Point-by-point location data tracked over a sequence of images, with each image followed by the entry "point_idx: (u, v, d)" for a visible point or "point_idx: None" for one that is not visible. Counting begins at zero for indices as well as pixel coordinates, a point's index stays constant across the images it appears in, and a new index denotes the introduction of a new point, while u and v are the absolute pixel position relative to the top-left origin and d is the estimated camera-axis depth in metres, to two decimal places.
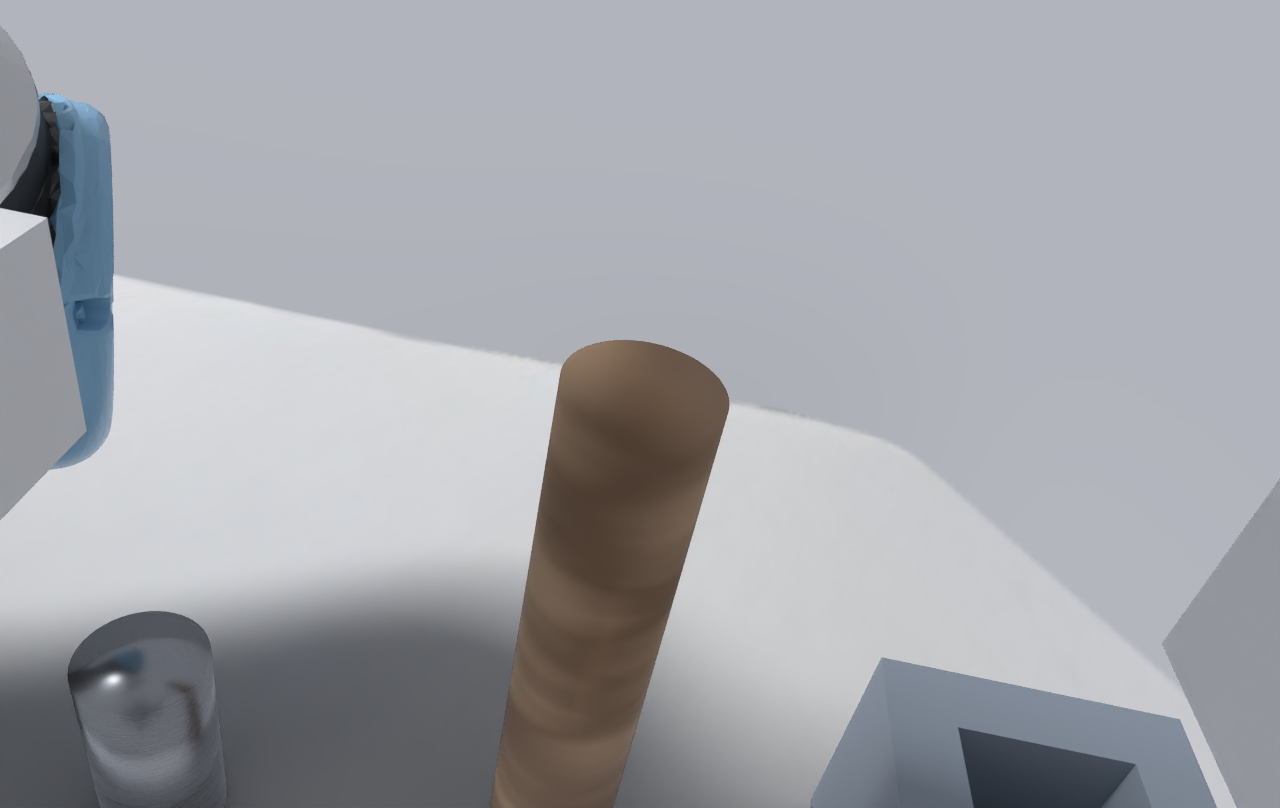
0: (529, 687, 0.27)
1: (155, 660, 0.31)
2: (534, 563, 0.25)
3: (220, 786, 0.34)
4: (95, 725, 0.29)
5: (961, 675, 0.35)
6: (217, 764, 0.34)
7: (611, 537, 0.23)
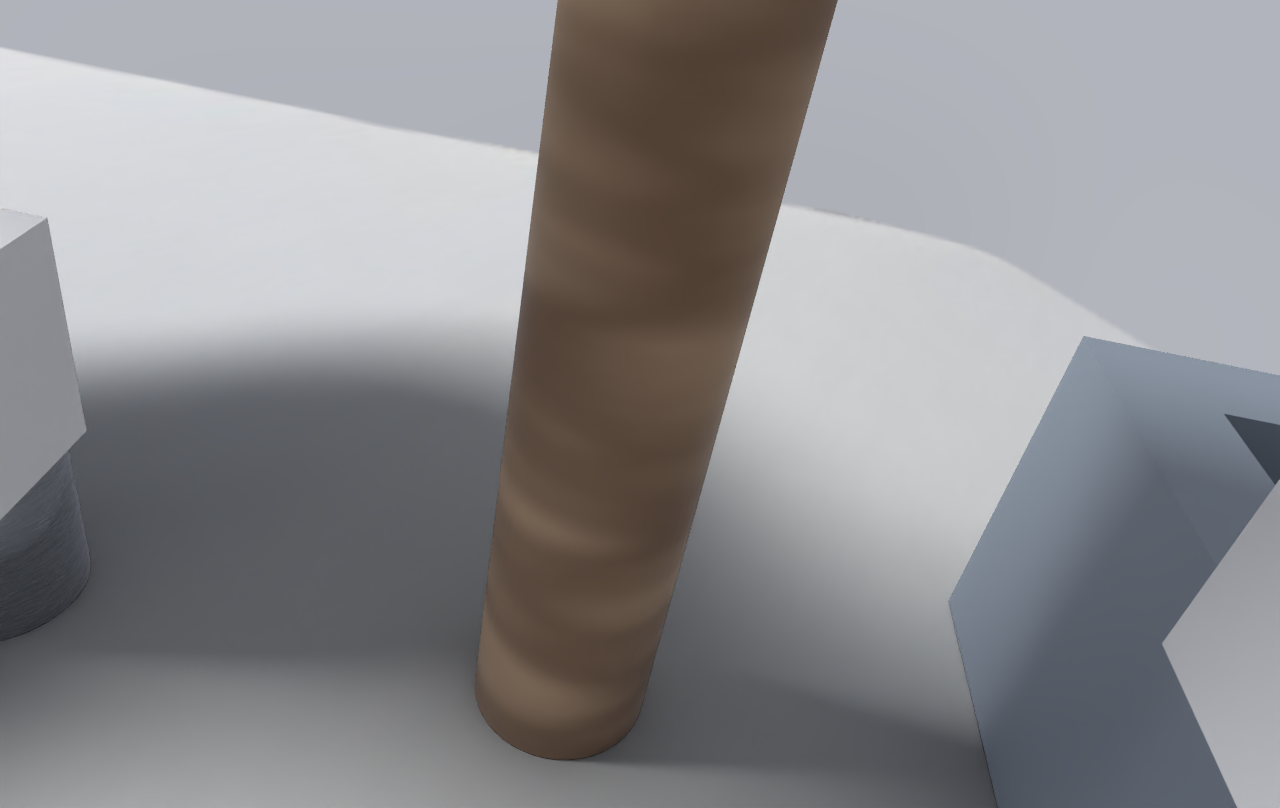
0: (562, 225, 0.15)
1: None
2: None
3: (72, 542, 0.22)
4: None
5: (1203, 363, 0.23)
6: (61, 498, 0.21)
7: None
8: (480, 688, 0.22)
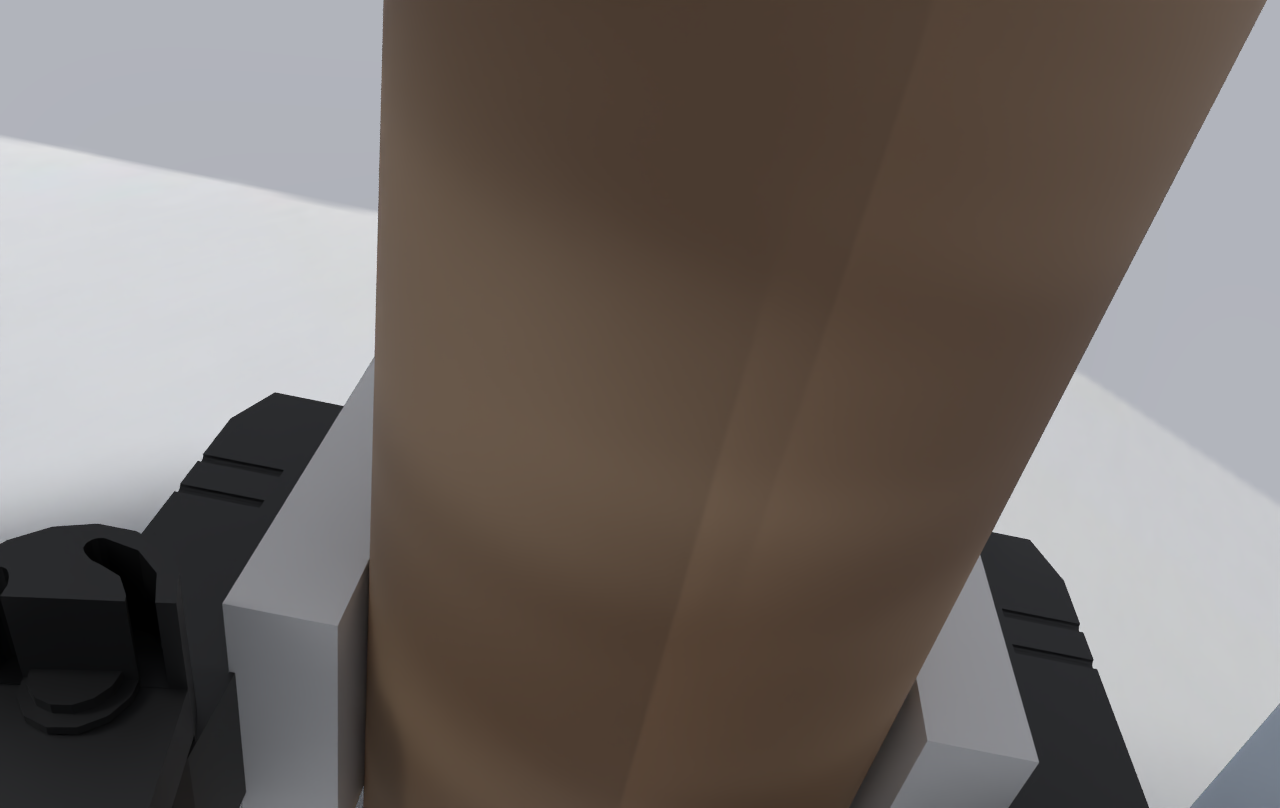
0: None
1: None
2: (380, 243, 0.05)
3: None
4: None
5: None
6: None
7: None
8: None
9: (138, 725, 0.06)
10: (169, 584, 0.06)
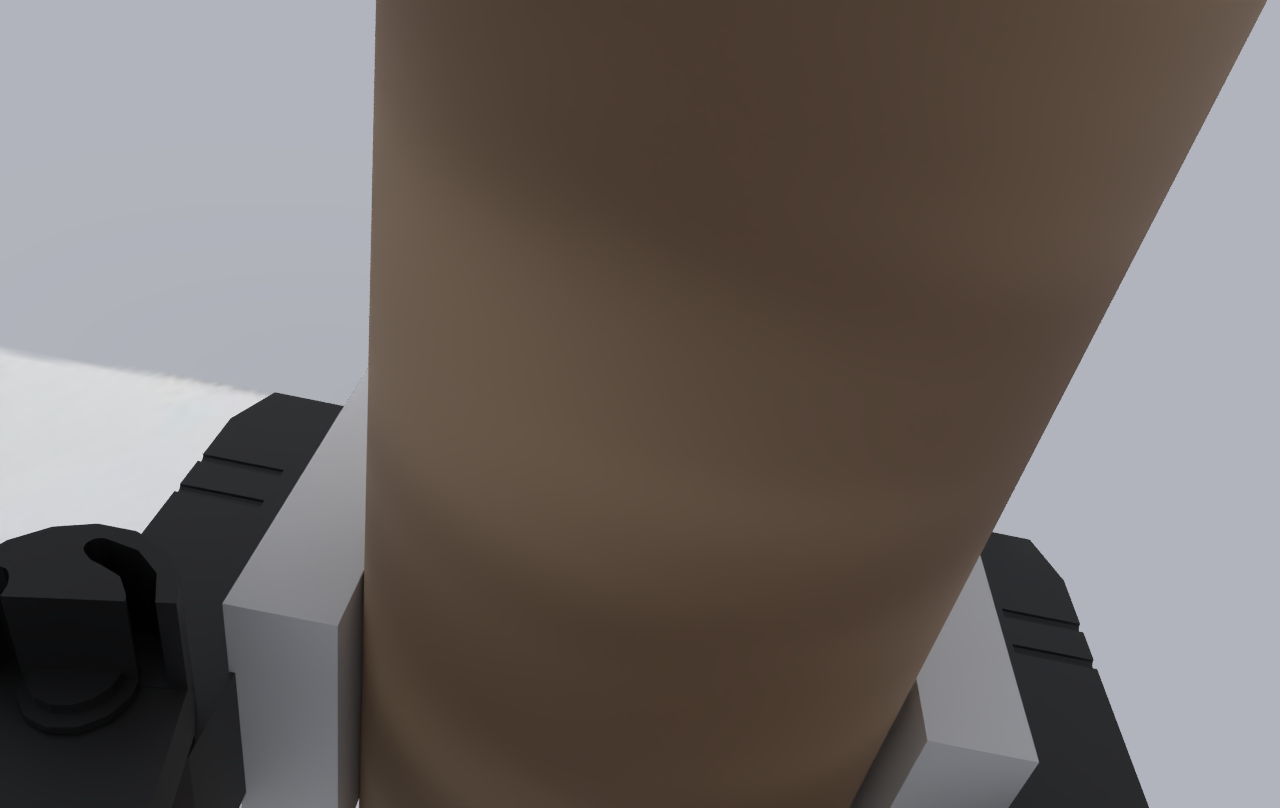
0: None
1: None
2: (374, 244, 0.05)
3: None
4: None
5: None
6: None
7: None
8: None
9: (137, 725, 0.06)
10: (168, 584, 0.06)
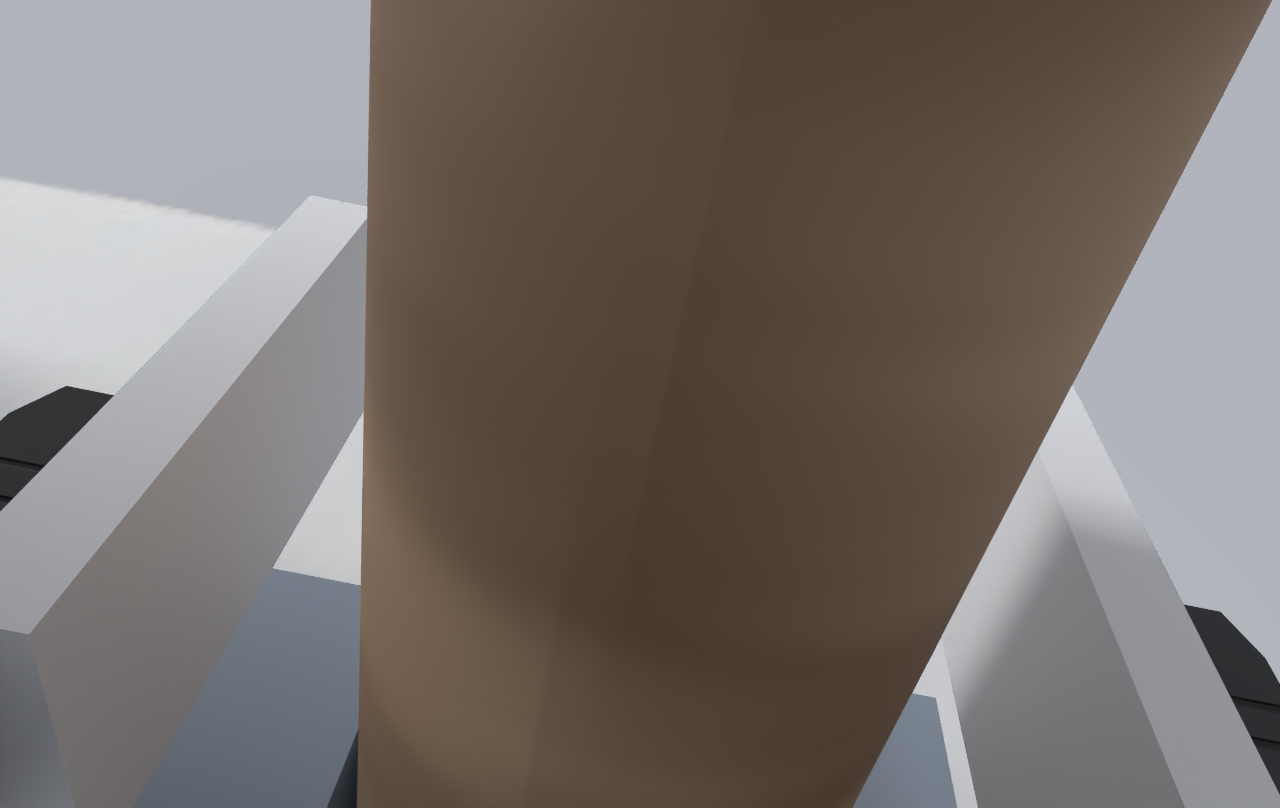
0: None
1: None
2: (364, 539, 0.06)
3: None
4: None
5: None
6: None
7: (734, 351, 0.04)
8: None
9: None
10: None
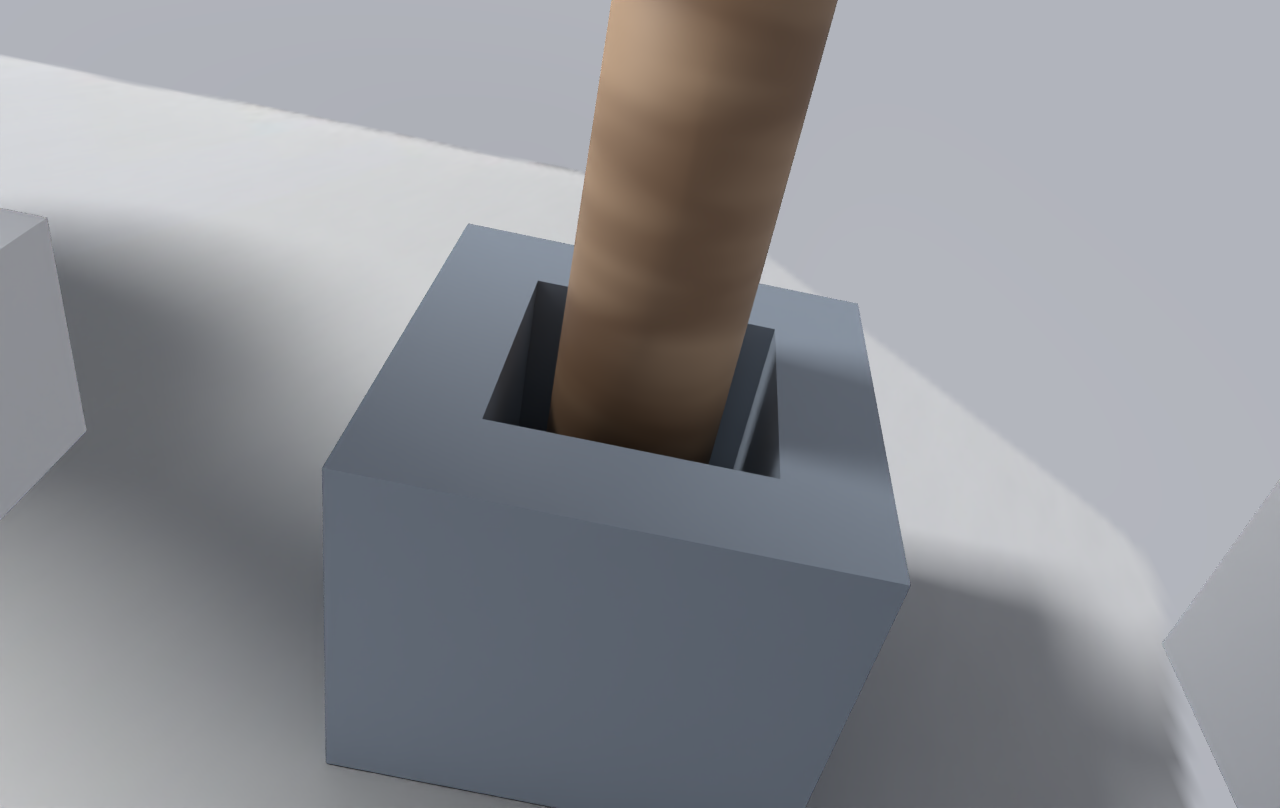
0: (601, 254, 0.19)
1: None
2: (614, 26, 0.17)
3: None
4: None
5: (573, 247, 0.27)
6: None
7: None
8: None
9: None
10: None
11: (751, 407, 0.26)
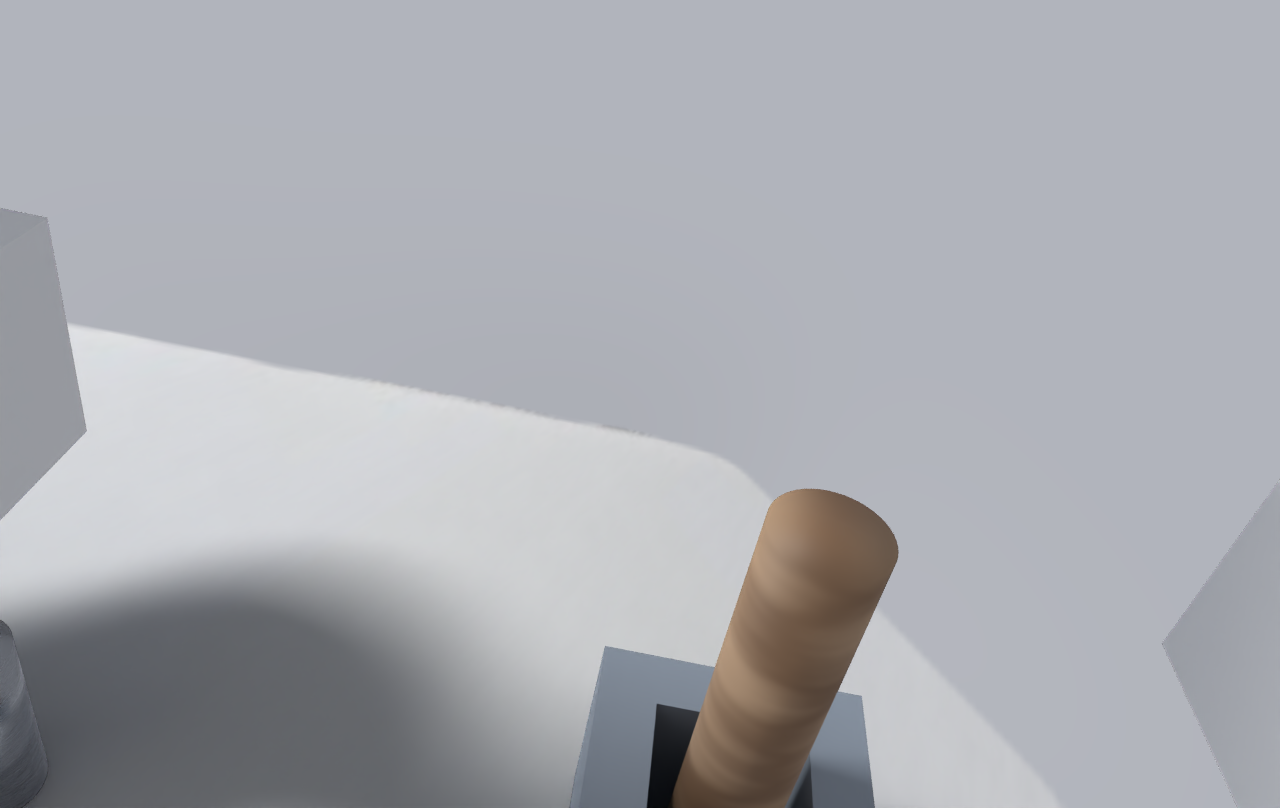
0: (715, 761, 0.33)
1: None
2: (729, 664, 0.31)
3: (35, 763, 0.40)
4: None
5: (673, 660, 0.41)
6: (29, 744, 0.39)
7: (806, 651, 0.29)
8: None
9: None
10: None
11: None
